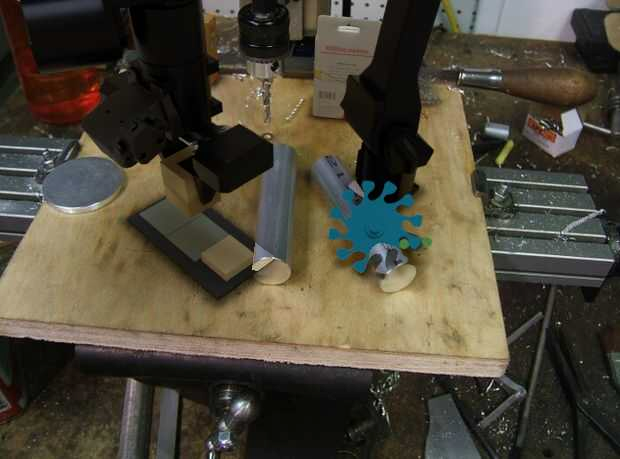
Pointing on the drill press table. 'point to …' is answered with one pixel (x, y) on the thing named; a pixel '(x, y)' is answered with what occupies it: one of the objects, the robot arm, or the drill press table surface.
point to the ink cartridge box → (340, 59)
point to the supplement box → (211, 39)
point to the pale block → (183, 185)
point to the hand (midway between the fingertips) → (193, 192)
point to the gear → (376, 224)
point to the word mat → (199, 245)
